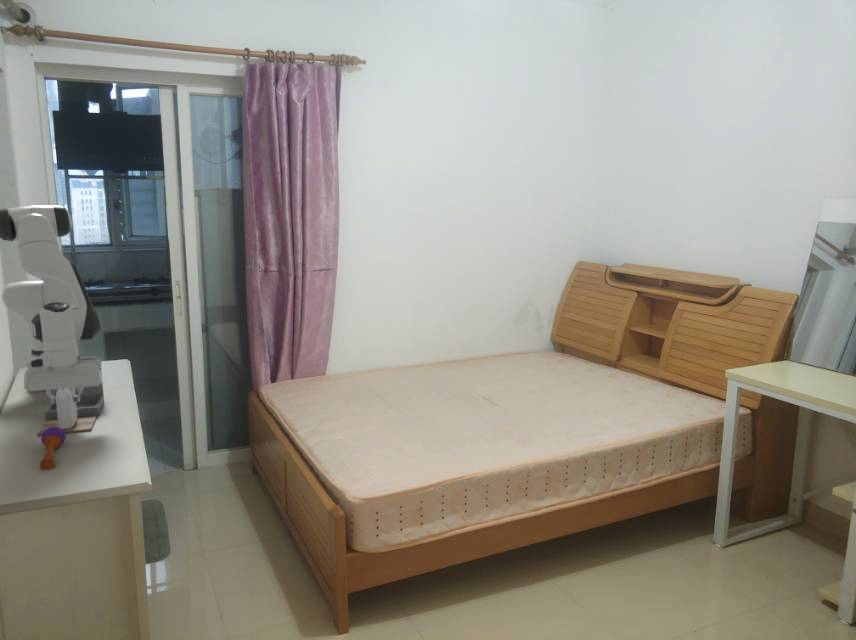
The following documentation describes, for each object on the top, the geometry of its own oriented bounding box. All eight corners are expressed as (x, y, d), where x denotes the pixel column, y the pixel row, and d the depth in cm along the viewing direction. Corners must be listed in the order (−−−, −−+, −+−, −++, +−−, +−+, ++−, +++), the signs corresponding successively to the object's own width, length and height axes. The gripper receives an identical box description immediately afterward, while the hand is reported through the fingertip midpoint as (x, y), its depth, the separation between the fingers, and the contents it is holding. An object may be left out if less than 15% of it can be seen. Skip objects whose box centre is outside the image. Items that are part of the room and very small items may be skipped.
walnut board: (46, 422, 199) (46, 420, 199) (96, 417, 204) (96, 415, 204) (37, 436, 187) (37, 434, 187) (91, 430, 192) (90, 428, 192)
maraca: (30, 458, 162) (39, 427, 179) (38, 478, 164) (46, 445, 181) (56, 450, 164) (62, 420, 182) (63, 470, 166) (69, 439, 183)
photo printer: (63, 419, 200) (59, 381, 197) (78, 418, 201) (75, 379, 199) (57, 430, 190) (53, 390, 188) (73, 428, 192) (69, 388, 189)
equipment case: (55, 406, 214) (51, 362, 211) (104, 401, 219) (100, 359, 216) (46, 420, 200) (41, 374, 197) (98, 415, 205) (94, 370, 202)
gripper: (101, 352, 198) (105, 396, 200) (25, 357, 191) (30, 402, 193) (99, 357, 192) (103, 402, 195) (20, 362, 185) (25, 409, 188)
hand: (66, 402), depth 194 cm, fingers open, 5 cm apart
